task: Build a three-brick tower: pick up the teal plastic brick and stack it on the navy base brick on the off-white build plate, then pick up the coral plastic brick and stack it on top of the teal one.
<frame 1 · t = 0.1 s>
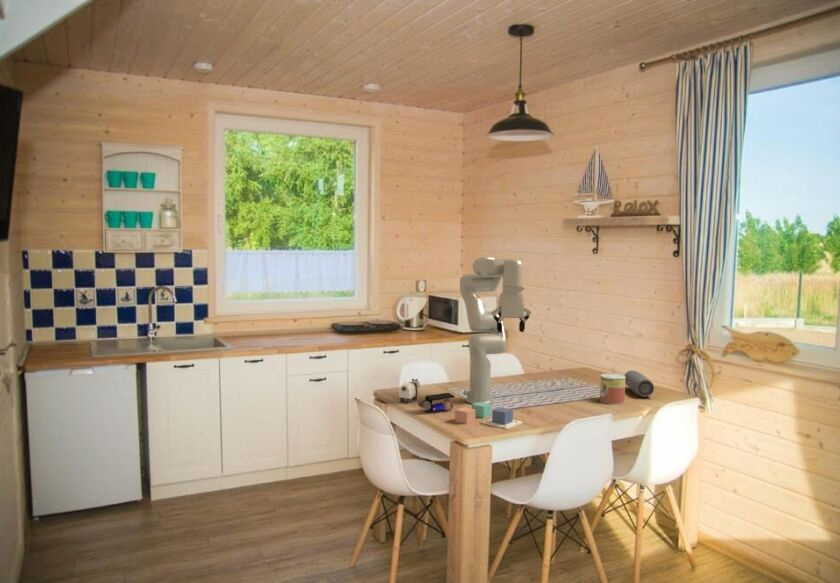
hand: (510, 331, 268), 37 cm above the table, tool pointing down, fingers open, 9 cm apart
teal brick: (481, 415, 279), on the table
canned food: (612, 401, 308), on the table
figurine character: (436, 412, 284), on the table
giant panda: (410, 400, 303), on the table
coral brick: (465, 421, 270), on the table
bluetooth speaker: (637, 394, 324), on the table
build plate: (502, 423, 268), on the table
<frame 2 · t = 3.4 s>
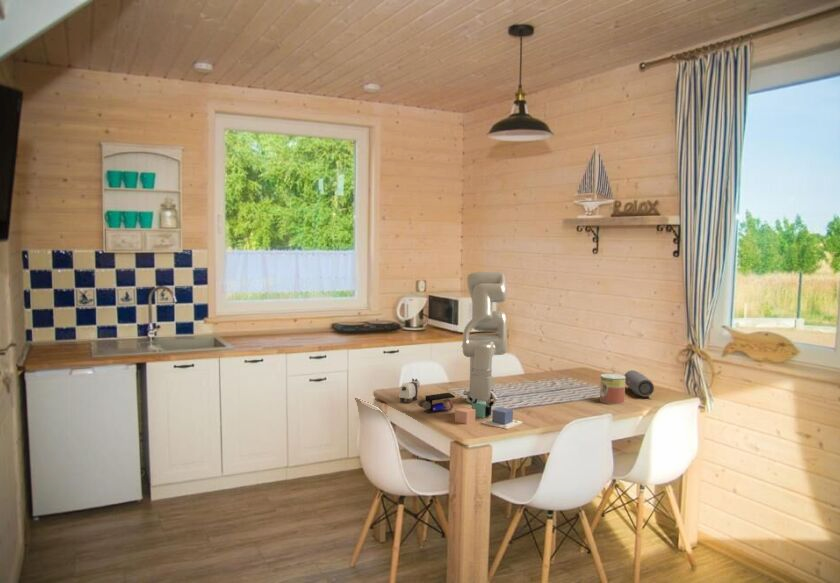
hand: (481, 413, 279), 1 cm above the table, tool pointing down, fingers closed on teal brick, 6 cm apart
teal brick: (481, 415, 279), on the table, touching gripper
everything else where it was.
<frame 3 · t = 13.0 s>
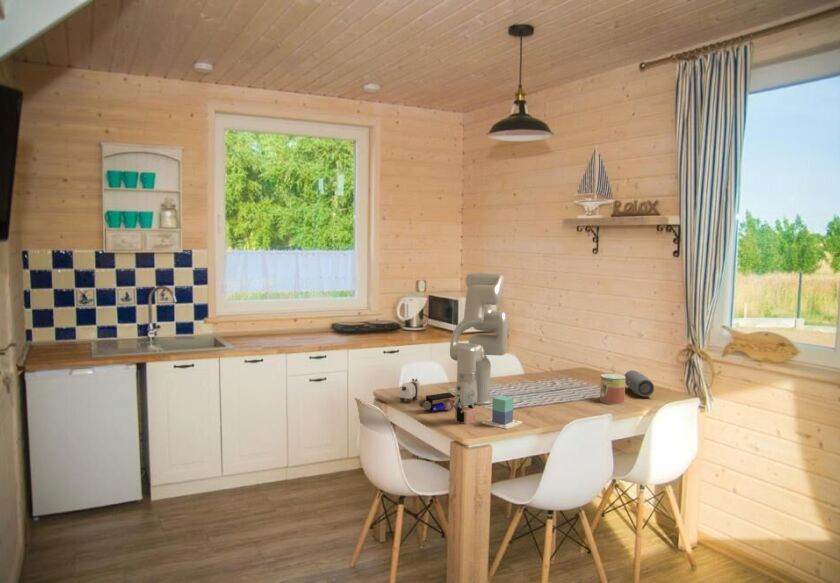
hand: (465, 419, 270), 1 cm above the table, tool pointing down, fingers closed on coral brick, 6 cm apart
teal brick: (502, 409, 267), point 5 cm above the table, touching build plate
coral brick: (465, 421, 270), on the table, touching gripper
everything else where it was.
when the fingers open (13 cm above the table, at t = 17.9 s): coral brick drops 1 cm, resting on teal brick.
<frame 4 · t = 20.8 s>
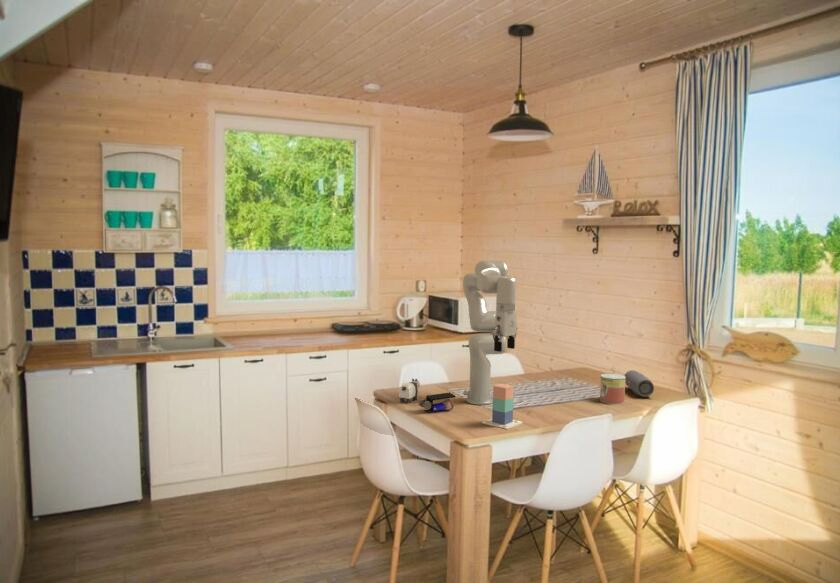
hand: (504, 349, 265), 30 cm above the table, tool pointing down, fingers open, 9 cm apart
teal brick: (502, 409, 267), point 5 cm above the table, touching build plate, coral brick
coral brick: (503, 397, 267), point 10 cm above the table, touching teal brick
everything else where it was.
at the end: teal brick 0.0 cm off-centre on the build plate, point 5.5 cm above the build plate's base; coral brick 0.0 cm off-centre on the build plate, point 10.5 cm above the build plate's base; coral brick tilted 0° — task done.
